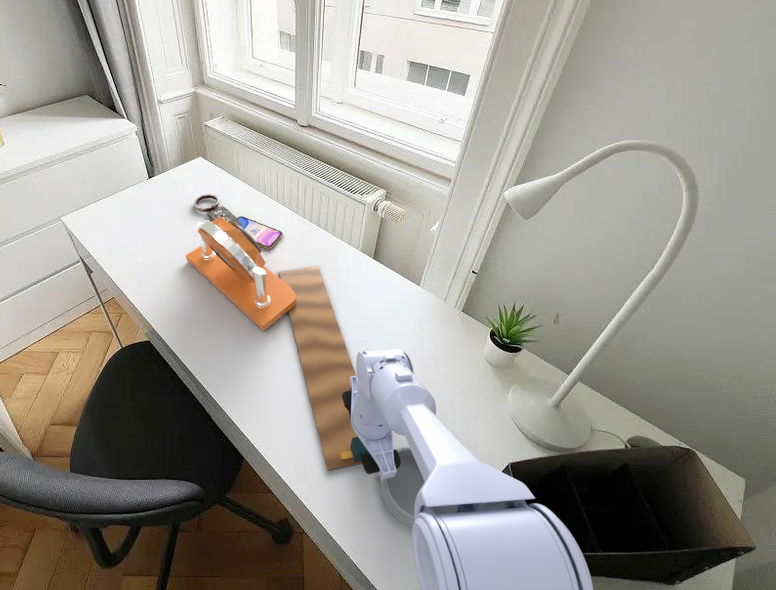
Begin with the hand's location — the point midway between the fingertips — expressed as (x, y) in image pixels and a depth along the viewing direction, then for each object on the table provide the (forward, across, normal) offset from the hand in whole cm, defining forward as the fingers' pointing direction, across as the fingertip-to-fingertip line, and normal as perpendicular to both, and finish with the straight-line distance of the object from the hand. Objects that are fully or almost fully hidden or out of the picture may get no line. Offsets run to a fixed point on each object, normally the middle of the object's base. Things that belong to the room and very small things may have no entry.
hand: (364, 445), depth 67 cm
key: (+3, 0, 0) cm, 4 cm away
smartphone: (+4, +60, +11) cm, 61 cm away
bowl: (+4, -7, -6) cm, 10 cm away
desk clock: (+4, +43, +16) cm, 46 cm away
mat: (+4, +21, +2) cm, 22 cm away
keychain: (+4, +70, +21) cm, 73 cm away
